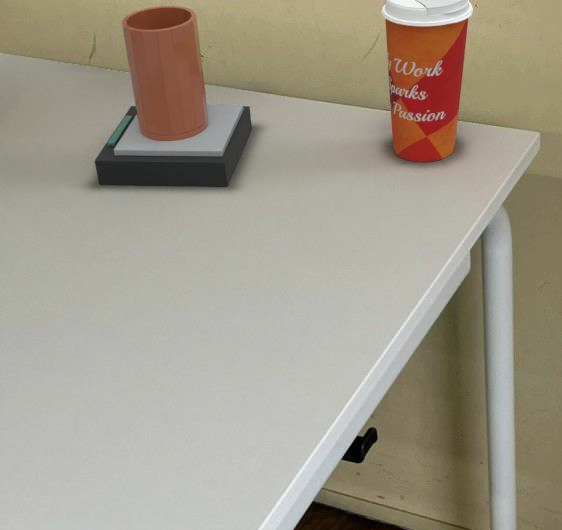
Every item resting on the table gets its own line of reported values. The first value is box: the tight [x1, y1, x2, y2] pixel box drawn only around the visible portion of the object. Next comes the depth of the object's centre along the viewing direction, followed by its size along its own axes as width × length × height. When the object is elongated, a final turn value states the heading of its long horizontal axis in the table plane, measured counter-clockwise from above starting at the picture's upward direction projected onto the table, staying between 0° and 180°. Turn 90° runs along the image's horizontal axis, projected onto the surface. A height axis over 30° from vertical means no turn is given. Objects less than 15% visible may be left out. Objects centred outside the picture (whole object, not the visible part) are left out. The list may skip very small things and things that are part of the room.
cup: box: [121, 5, 208, 141], centre depth 90 cm, size 6×6×10 cm
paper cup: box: [380, 0, 474, 163], centre depth 89 cm, size 8×8×14 cm
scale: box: [94, 104, 253, 187], centre depth 94 cm, size 12×12×3 cm
